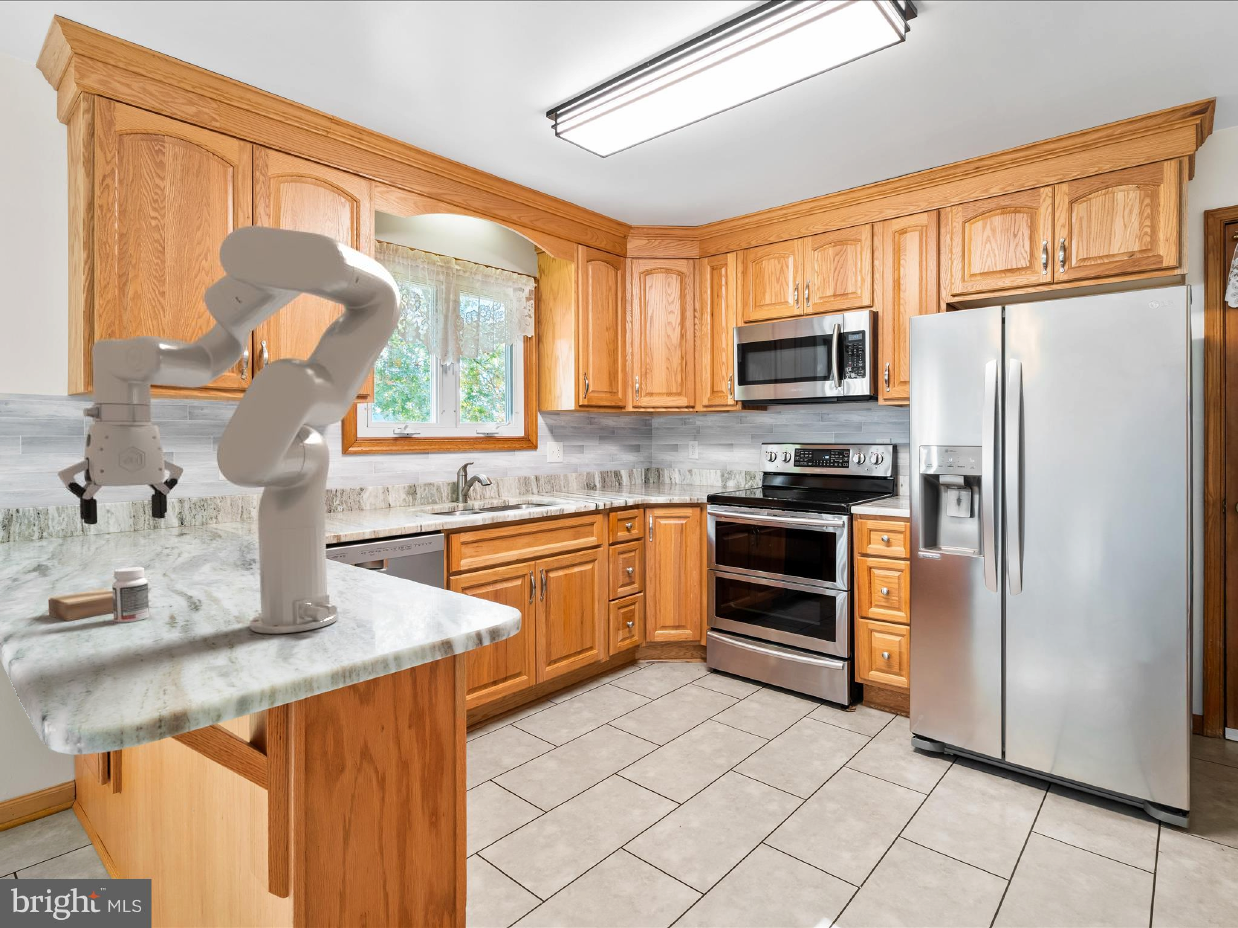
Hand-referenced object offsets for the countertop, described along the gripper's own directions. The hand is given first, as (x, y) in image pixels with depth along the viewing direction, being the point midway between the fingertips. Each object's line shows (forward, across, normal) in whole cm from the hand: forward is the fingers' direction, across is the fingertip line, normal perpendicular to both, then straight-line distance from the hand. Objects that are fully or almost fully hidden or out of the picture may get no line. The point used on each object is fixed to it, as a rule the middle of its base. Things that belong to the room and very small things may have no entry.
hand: (125, 520), depth 111 cm
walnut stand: (+16, -2, +11) cm, 20 cm away
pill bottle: (+16, 0, -1) cm, 17 cm away
